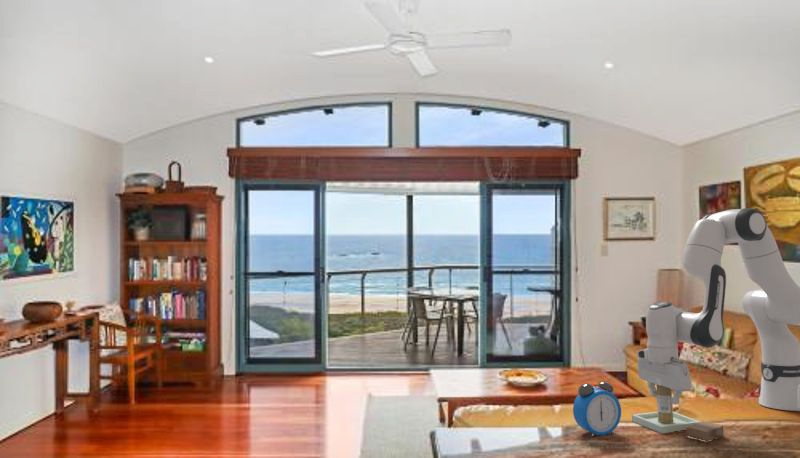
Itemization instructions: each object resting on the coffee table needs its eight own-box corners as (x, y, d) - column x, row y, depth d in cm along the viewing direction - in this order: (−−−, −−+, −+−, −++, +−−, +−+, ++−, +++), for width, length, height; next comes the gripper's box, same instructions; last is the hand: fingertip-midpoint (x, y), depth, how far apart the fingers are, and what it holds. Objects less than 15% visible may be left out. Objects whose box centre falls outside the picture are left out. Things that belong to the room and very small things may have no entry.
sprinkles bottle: (676, 421, 188) (674, 378, 189) (669, 424, 185) (667, 380, 186) (661, 418, 192) (659, 376, 192) (654, 422, 188) (653, 378, 189)
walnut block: (703, 431, 180) (702, 421, 180) (723, 436, 175) (722, 425, 175) (686, 437, 175) (685, 427, 175) (707, 442, 170) (706, 432, 170)
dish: (669, 416, 197) (669, 410, 197) (701, 428, 183) (701, 421, 183) (632, 421, 193) (631, 414, 193) (661, 433, 180) (661, 426, 180)
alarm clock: (584, 439, 177) (582, 387, 177) (572, 433, 183) (570, 382, 183) (623, 433, 181) (620, 382, 181) (610, 428, 187) (608, 378, 187)
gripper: (695, 359, 180) (697, 407, 179) (650, 349, 199) (652, 391, 199) (677, 361, 178) (679, 409, 178) (633, 350, 198) (635, 393, 197)
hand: (664, 399), depth 188 cm, fingers open, 8 cm apart
